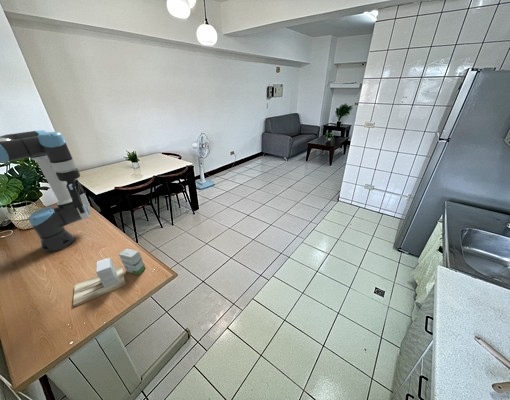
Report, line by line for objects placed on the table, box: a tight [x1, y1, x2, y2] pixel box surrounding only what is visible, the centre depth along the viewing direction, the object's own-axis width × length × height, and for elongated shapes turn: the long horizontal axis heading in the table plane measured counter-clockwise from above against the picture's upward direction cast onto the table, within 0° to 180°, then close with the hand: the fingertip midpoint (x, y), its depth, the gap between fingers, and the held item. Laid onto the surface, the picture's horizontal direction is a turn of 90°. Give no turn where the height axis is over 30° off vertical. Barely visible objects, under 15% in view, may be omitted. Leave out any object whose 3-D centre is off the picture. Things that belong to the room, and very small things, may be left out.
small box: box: [95, 256, 118, 288], centre depth 101 cm, size 8×6×10 cm
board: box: [72, 266, 126, 308], centre depth 102 cm, size 13×20×1 cm, turn 124°
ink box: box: [118, 248, 146, 276], centre depth 107 cm, size 9×5×12 cm, turn 71°
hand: (86, 212), depth 102 cm, fingers open, 13 cm apart
